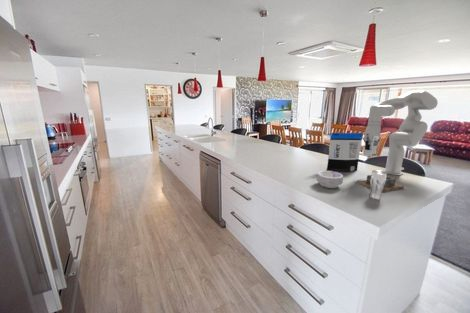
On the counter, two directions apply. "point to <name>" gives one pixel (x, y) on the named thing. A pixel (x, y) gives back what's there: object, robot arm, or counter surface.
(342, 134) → the protein powder
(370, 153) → the syrup box
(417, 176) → the counter surface
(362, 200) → the counter surface
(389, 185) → the holder
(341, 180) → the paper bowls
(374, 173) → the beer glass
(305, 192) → the counter surface
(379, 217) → the counter surface
